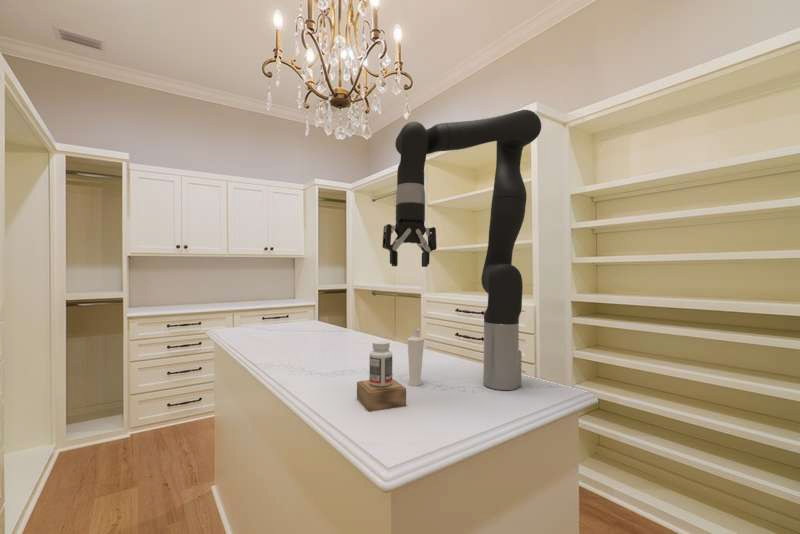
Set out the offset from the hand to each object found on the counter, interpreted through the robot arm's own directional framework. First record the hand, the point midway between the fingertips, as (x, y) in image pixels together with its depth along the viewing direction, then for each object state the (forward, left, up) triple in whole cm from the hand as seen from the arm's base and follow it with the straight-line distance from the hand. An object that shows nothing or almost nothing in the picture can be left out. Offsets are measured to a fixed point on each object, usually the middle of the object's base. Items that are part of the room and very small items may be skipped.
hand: (409, 266), depth 94 cm
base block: (+9, +4, -32) cm, 34 cm away
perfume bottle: (-5, -6, -32) cm, 33 cm away
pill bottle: (+9, +4, -28) cm, 30 cm away
